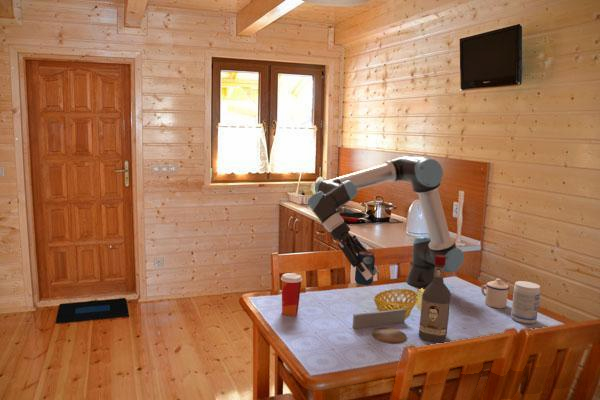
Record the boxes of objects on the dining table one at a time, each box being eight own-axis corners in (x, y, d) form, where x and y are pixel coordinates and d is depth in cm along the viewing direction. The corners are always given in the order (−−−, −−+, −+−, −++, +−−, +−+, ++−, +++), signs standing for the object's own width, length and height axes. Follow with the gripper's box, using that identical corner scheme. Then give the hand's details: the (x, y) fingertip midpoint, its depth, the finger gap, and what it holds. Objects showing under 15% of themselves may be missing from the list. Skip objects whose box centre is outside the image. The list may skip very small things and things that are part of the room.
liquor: (421, 330, 194) (429, 251, 189) (447, 335, 190) (455, 254, 186) (417, 339, 185) (425, 257, 181) (444, 344, 182) (452, 261, 177)
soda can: (371, 287, 196) (374, 256, 195) (353, 284, 198) (356, 254, 196) (373, 281, 203) (376, 251, 201) (355, 279, 205) (358, 249, 203)
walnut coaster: (365, 331, 190) (366, 329, 190) (393, 327, 195) (394, 326, 195) (383, 345, 179) (384, 343, 179) (413, 340, 184) (413, 339, 184)
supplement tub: (538, 326, 204) (543, 289, 202) (512, 322, 206) (516, 286, 204) (533, 317, 213) (538, 282, 211) (509, 313, 216) (513, 279, 213)
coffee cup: (288, 307, 209) (290, 271, 207) (304, 313, 204) (306, 276, 202) (274, 312, 203) (276, 275, 200) (290, 318, 198) (292, 280, 195)
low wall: (352, 327, 193) (353, 314, 192) (402, 321, 202) (403, 308, 201) (354, 328, 192) (355, 315, 191) (404, 322, 200) (405, 309, 200)
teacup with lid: (511, 306, 224) (514, 280, 223) (498, 310, 219) (501, 283, 217) (486, 298, 234) (489, 272, 232) (474, 301, 229) (477, 275, 227)
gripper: (340, 228, 213) (374, 275, 209) (319, 237, 196) (356, 288, 191) (353, 218, 210) (388, 264, 205) (333, 225, 193) (371, 276, 188)
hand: (373, 275), depth 198 cm, fingers closed on soda can, 7 cm apart
